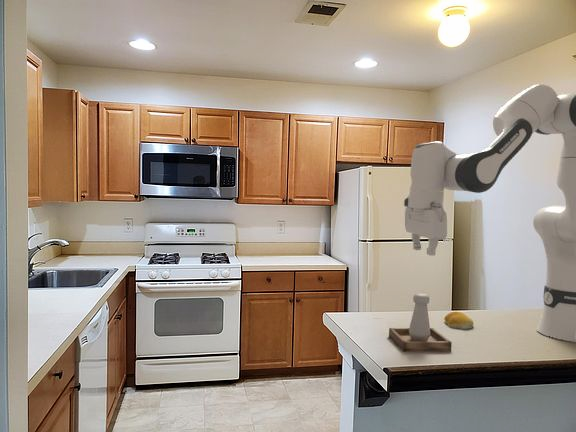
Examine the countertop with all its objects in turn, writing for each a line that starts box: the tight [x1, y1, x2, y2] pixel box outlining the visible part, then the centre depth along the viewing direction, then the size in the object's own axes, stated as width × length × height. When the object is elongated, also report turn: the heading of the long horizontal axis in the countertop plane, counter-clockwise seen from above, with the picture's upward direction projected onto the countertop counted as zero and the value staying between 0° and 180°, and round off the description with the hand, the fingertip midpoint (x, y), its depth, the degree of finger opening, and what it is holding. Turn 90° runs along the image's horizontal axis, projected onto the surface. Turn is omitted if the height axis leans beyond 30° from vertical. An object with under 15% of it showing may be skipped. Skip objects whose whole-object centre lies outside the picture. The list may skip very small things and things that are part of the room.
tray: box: [388, 327, 453, 352], centre depth 126 cm, size 13×12×2 cm
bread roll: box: [443, 311, 474, 330], centre depth 144 cm, size 8×9×4 cm
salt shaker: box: [408, 292, 431, 341], centre depth 126 cm, size 6×6×13 cm
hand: (423, 252), depth 124 cm, fingers open, 8 cm apart
